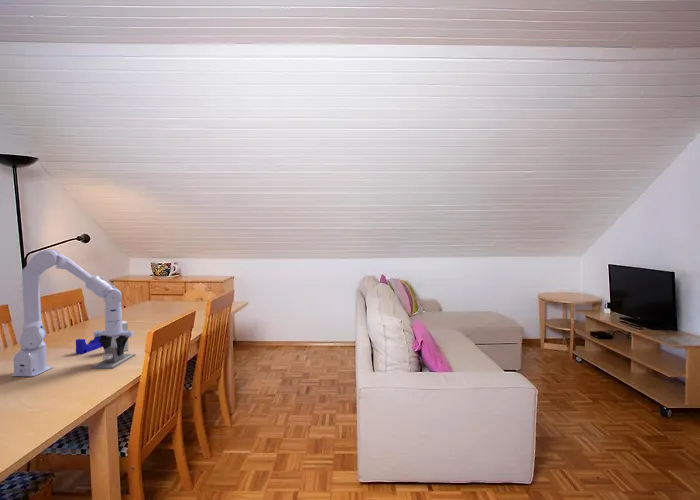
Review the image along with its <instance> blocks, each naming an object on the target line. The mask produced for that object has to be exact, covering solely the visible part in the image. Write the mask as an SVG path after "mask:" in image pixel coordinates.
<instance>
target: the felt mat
mask: <svg viewBox="0 0 700 500" xmlns="http://www.w3.org/2000/svg"><path fill="white" fill-rule="evenodd" d="M135 356H136V353H124V357H123V358H122V359H120V360H118V361H116V362H105V359H102V361H100V362H98V363H96V364H94V365H92V366H90V368H91V369H94V370H95V369H97V370H98V369H99V370H101V369H104V370H105V369H106V370H107V369H108V370H109V369H111V370H113V369H115V368H116V367H119V366H121V365H122V364H123V363H125V362H127V361H129V360H131V359H133V357H135Z"/></svg>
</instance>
